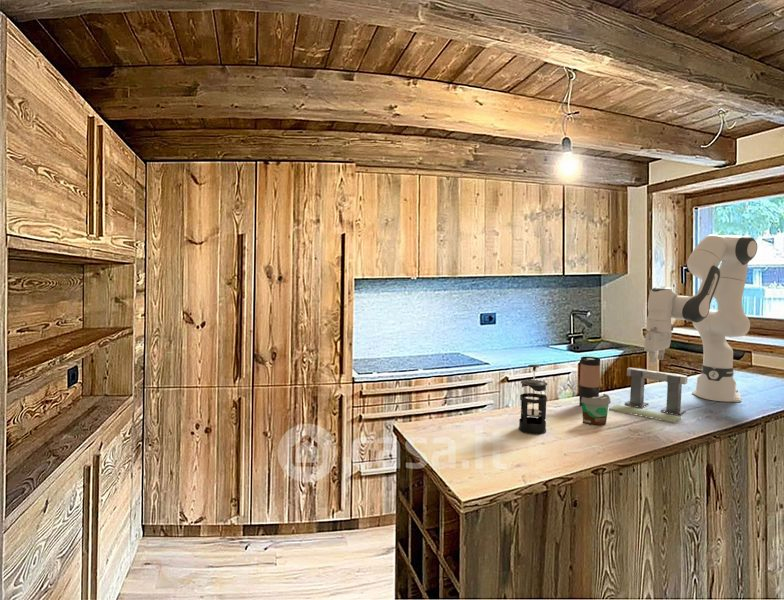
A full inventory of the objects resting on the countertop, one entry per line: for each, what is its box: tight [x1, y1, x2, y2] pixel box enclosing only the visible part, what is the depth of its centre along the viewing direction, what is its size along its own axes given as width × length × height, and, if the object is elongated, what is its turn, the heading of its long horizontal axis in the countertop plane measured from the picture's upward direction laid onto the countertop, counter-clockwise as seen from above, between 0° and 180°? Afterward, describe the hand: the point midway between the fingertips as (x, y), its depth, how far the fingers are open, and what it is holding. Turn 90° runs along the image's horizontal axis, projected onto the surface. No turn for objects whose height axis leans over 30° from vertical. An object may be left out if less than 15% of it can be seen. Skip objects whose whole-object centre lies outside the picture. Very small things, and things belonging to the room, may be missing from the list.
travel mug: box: [578, 356, 601, 407], centre depth 212 cm, size 8×8×20 cm
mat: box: [608, 404, 682, 424], centre depth 202 cm, size 8×24×1 cm, turn 45°
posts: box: [624, 367, 687, 416], centre depth 210 cm, size 7×21×15 cm, turn 45°
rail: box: [626, 367, 689, 385], centre depth 210 cm, size 3×22×3 cm, turn 45°
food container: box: [581, 393, 612, 427], centre depth 188 cm, size 12×6×10 cm, turn 117°
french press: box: [518, 364, 548, 435], centre depth 180 cm, size 12×9×23 cm
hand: (656, 360), depth 210 cm, fingers open, 8 cm apart
